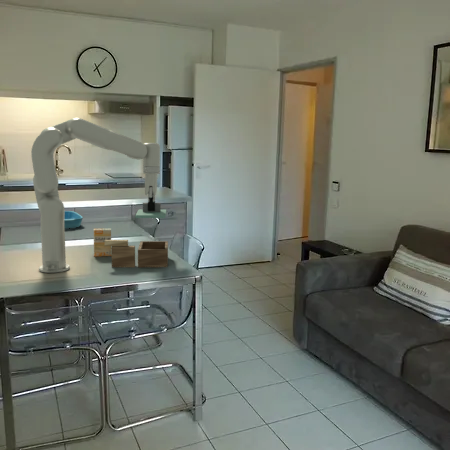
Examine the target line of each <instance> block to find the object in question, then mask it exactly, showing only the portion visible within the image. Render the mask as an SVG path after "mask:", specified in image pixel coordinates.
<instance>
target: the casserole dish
mask: <svg viewBox="0 0 450 450" xmlns="http://www.w3.org/2000/svg"><path fill="white" fill-rule="evenodd" d="M83 218H84V217H83V216H82V215H81V214H79V213H78V212H76V211H72V210H65V217H64V230H66V229H69V228H70V229H76V227H78V228H79V227H81V224H82V222H83Z"/></svg>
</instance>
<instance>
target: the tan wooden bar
mask: <svg viewBox="0 0 450 450" xmlns="http://www.w3.org/2000/svg"><path fill="white" fill-rule="evenodd" d="M104 242H105V246H111V247H112V246H129V239H111V240H105V241H104Z"/></svg>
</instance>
